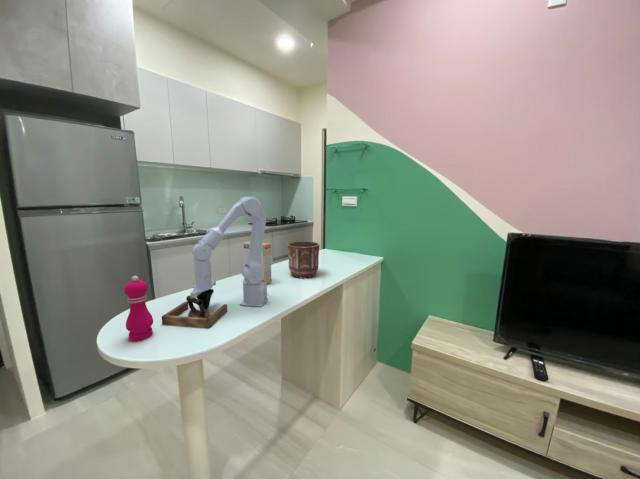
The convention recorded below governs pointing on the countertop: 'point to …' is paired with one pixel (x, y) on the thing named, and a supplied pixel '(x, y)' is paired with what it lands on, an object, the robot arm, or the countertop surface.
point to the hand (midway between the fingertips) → (205, 308)
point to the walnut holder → (177, 320)
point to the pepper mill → (138, 310)
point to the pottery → (303, 258)
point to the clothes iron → (194, 311)
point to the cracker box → (262, 260)
